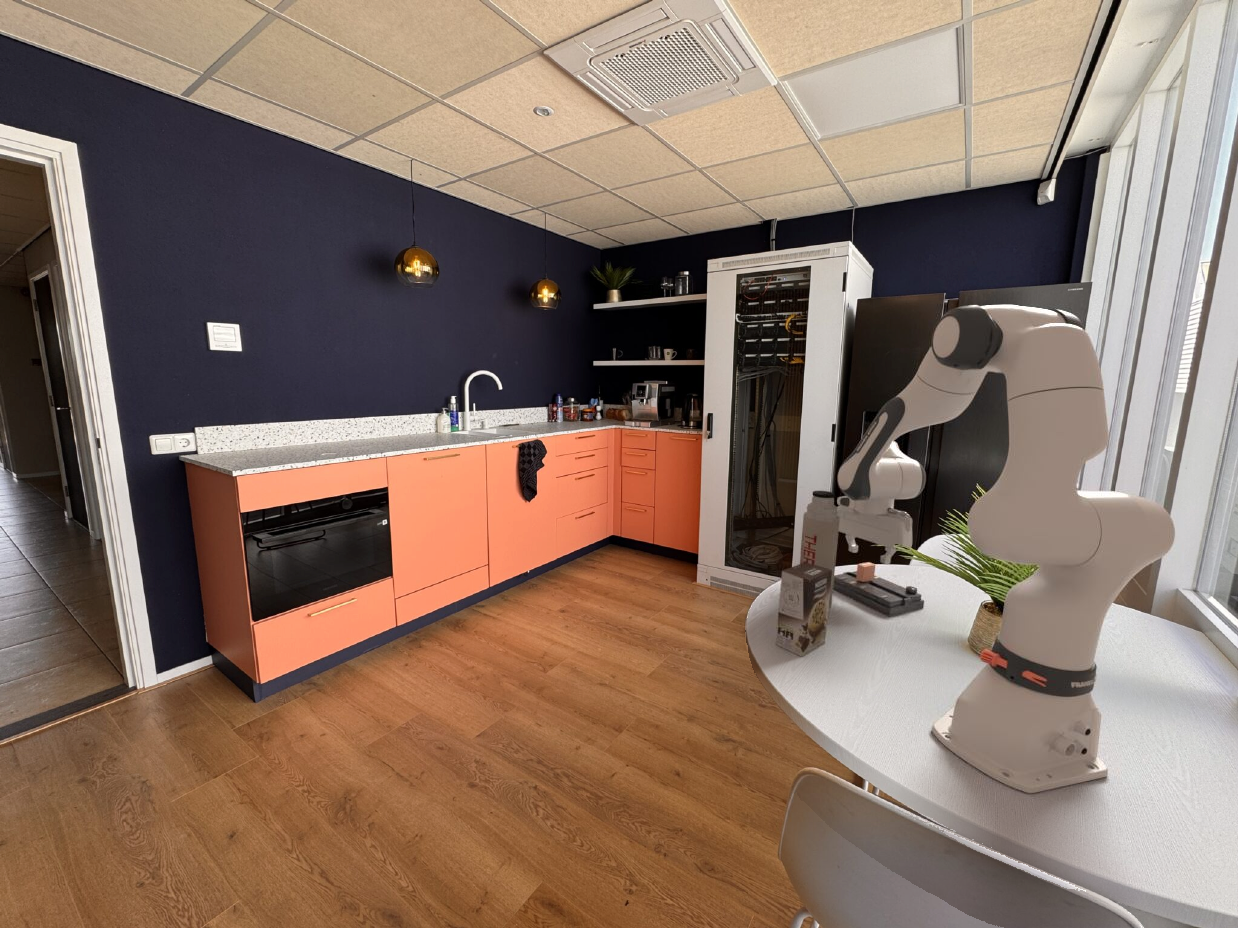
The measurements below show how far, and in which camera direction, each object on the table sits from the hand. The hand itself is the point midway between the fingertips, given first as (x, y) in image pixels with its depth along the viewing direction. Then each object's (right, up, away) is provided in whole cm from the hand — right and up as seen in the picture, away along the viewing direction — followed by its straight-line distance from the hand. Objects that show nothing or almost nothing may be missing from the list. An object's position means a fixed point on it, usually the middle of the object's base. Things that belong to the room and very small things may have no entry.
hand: (868, 557), depth 129 cm
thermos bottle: (-16, -11, -5) cm, 20 cm away
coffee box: (-26, -14, -24) cm, 37 cm away
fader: (0, -8, +2) cm, 8 cm away
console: (+1, -10, 0) cm, 10 cm away
